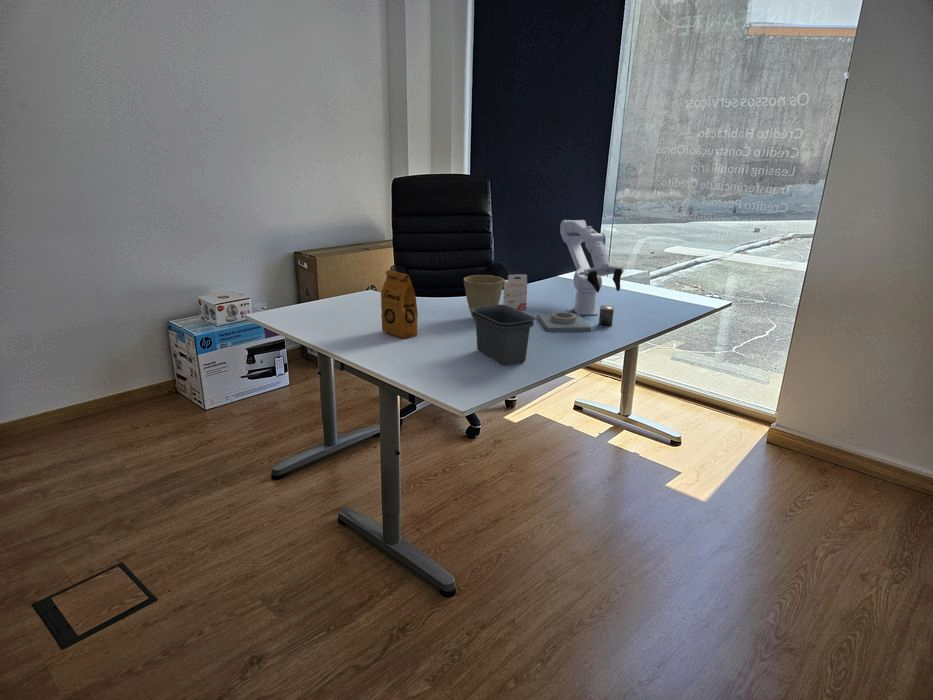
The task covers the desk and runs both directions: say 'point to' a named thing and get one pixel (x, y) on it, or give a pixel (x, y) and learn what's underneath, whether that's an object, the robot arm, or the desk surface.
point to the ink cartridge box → (515, 292)
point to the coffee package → (399, 306)
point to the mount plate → (563, 322)
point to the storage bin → (502, 332)
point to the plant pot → (483, 290)
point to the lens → (606, 315)
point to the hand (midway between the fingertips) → (608, 290)
